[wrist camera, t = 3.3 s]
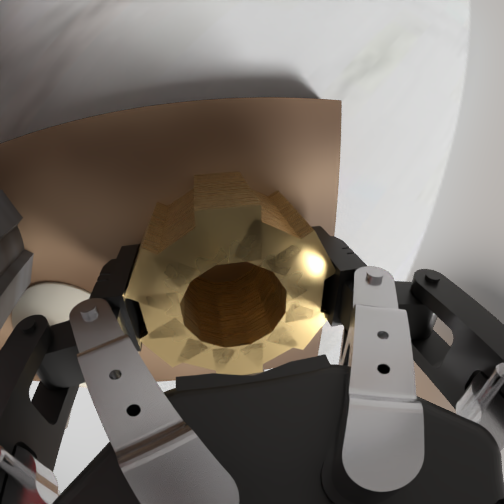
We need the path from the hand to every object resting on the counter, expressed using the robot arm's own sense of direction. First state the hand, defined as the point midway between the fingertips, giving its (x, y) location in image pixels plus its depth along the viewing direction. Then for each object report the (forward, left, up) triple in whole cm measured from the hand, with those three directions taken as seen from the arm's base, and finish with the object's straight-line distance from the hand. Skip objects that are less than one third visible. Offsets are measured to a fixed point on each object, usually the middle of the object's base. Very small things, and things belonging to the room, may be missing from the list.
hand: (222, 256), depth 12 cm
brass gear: (0, 0, -1) cm, 1 cm away
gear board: (+1, -5, -3) cm, 6 cm away
